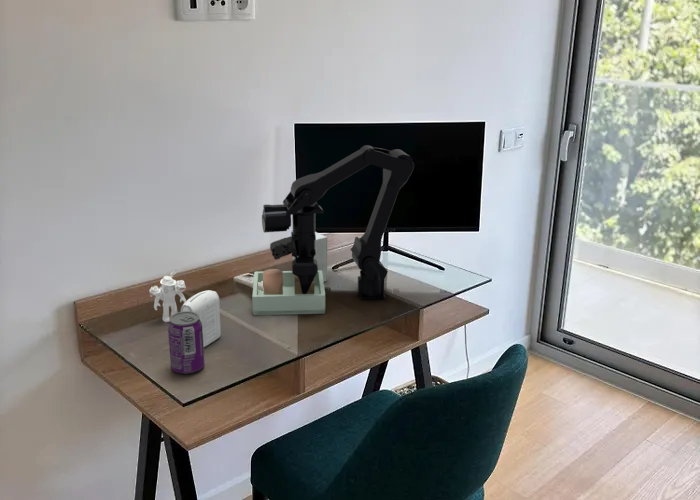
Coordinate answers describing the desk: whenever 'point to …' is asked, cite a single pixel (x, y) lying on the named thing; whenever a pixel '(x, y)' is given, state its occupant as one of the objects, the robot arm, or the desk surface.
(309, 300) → the tote
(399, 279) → the desk surface
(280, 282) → the terracotta cylinder
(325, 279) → the small box
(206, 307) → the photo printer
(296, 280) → the walnut block
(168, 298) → the flower shoulder figurine
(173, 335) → the beverage can
